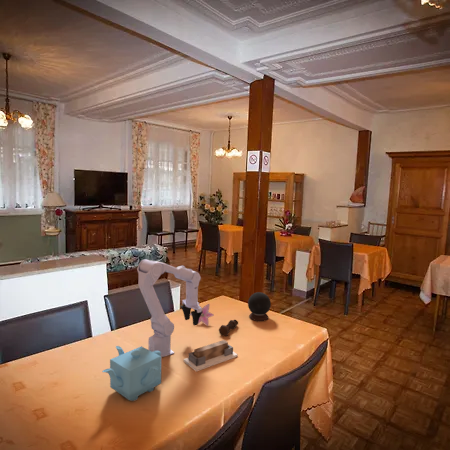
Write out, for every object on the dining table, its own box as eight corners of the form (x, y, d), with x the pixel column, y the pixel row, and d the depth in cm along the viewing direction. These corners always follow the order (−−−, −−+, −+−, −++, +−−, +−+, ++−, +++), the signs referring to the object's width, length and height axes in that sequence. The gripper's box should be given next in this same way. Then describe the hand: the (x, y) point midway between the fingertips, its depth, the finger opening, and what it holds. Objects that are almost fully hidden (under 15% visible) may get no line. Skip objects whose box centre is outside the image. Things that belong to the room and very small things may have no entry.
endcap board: (196, 371, 141) (196, 362, 140) (183, 361, 149) (183, 352, 148) (237, 356, 154) (237, 347, 154) (224, 347, 162) (224, 339, 162)
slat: (197, 363, 145) (198, 352, 145) (194, 360, 148) (194, 349, 147) (227, 353, 155) (228, 342, 155) (223, 350, 157) (223, 339, 157)
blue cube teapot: (162, 375, 138) (162, 340, 136) (158, 405, 119) (159, 365, 117) (114, 377, 135) (113, 341, 134) (102, 407, 117) (101, 366, 115)
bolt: (236, 329, 188) (224, 338, 175) (229, 323, 190) (216, 332, 176) (242, 321, 186) (229, 330, 173) (234, 315, 188) (222, 323, 175)
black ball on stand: (273, 316, 202) (275, 292, 200) (264, 324, 191) (265, 298, 189) (253, 311, 209) (254, 287, 207) (243, 318, 198) (244, 293, 196)
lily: (187, 323, 192) (187, 312, 186) (199, 309, 200) (200, 298, 195) (204, 333, 187) (206, 322, 182) (216, 319, 196) (218, 308, 190)
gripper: (207, 297, 162) (206, 325, 164) (190, 289, 174) (190, 315, 175) (194, 300, 158) (193, 328, 160) (178, 292, 170) (178, 318, 171)
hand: (191, 322), depth 167 cm, fingers open, 7 cm apart
